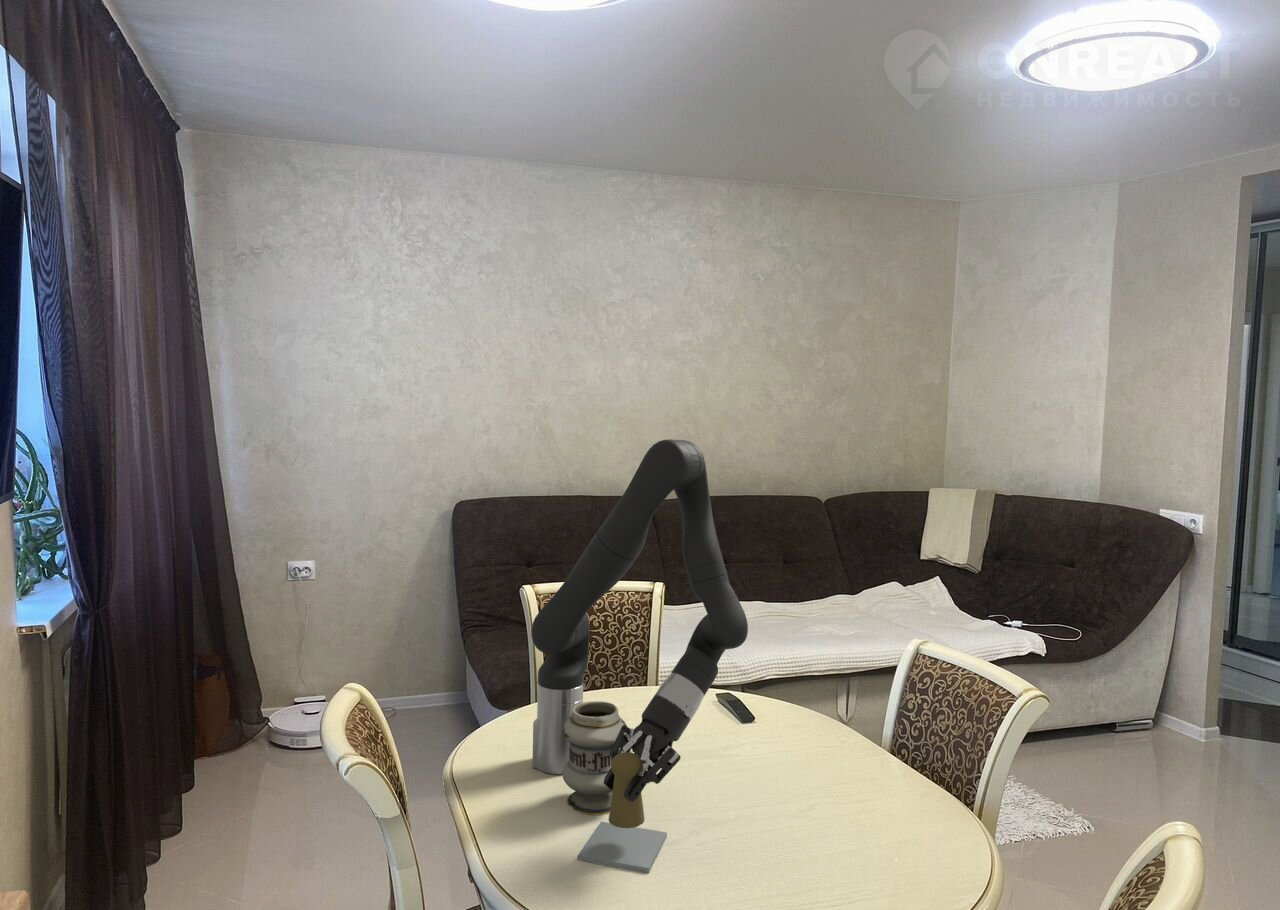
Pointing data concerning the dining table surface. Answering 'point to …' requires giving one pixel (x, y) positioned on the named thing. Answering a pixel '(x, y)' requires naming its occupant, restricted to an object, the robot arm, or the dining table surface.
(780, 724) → the dining table surface
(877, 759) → the dining table surface
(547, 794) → the dining table surface
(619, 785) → the brown pawn
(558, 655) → the robot arm
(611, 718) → the apothecary jar
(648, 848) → the slate tile
